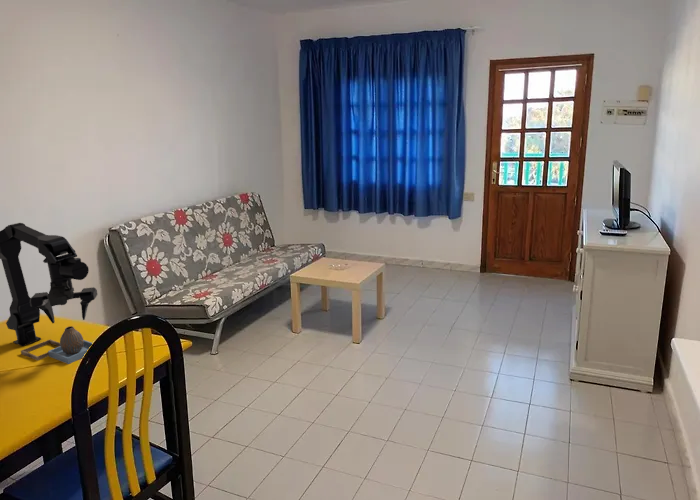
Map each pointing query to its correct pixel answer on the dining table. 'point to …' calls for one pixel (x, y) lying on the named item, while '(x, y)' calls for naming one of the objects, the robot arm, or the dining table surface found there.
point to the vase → (71, 341)
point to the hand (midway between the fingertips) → (68, 321)
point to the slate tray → (69, 358)
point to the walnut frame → (25, 351)
